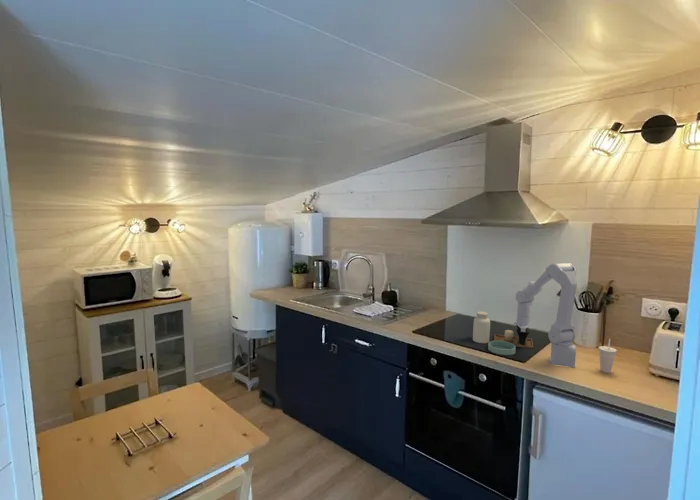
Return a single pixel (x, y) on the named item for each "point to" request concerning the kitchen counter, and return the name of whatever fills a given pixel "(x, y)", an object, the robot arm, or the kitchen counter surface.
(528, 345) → the tray
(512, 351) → the bowl
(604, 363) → the smoothie
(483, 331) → the pill bottle
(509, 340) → the pebble
